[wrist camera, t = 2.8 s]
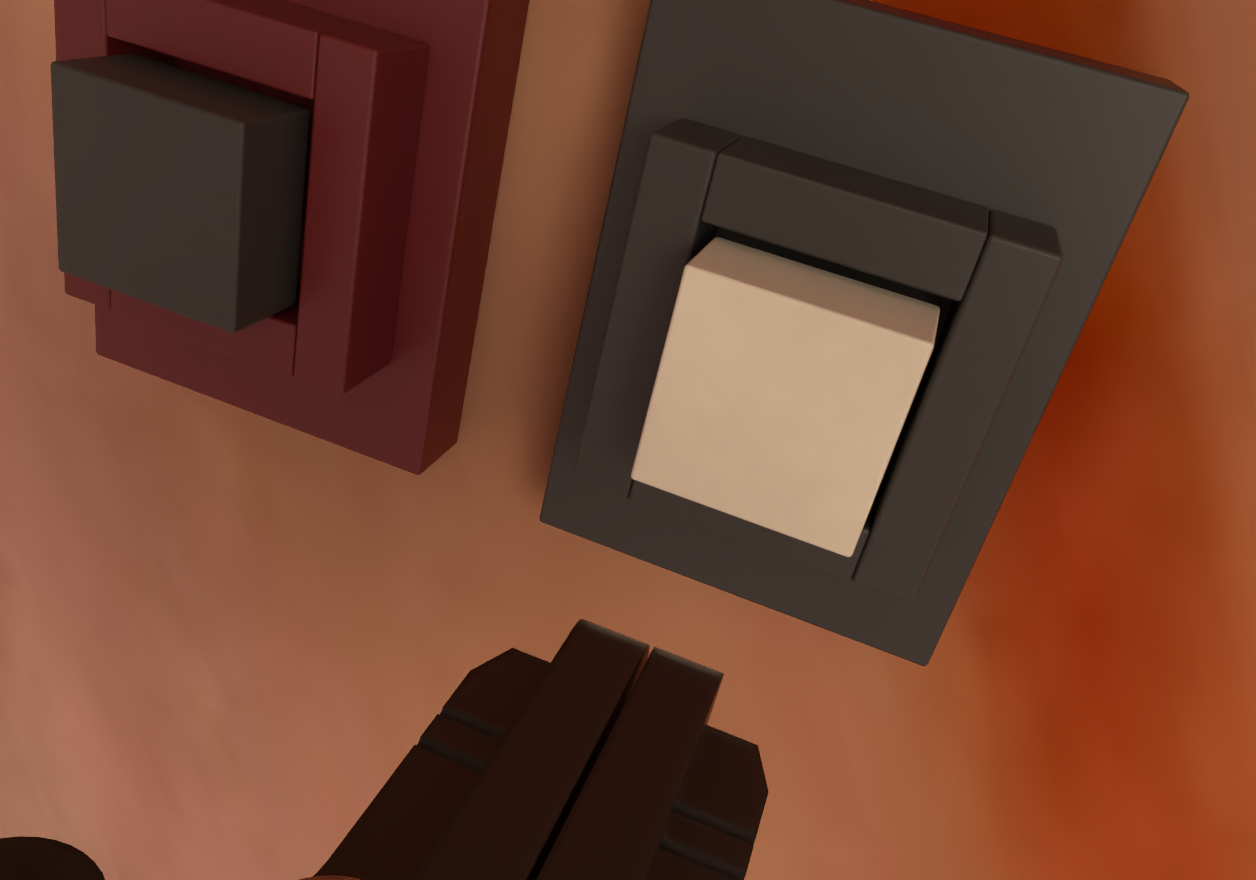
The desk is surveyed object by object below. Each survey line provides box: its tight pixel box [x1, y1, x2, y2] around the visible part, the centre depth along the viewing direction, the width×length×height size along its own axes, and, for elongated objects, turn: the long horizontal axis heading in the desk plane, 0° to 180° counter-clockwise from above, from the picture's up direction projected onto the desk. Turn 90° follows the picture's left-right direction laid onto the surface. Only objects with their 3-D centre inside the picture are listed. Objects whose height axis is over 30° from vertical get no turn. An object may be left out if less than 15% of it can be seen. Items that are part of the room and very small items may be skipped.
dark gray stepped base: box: [540, 0, 1189, 666], centre depth 20 cm, size 12×9×4 cm
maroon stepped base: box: [54, 0, 529, 475], centre depth 22 cm, size 12×9×4 cm
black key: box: [51, 53, 310, 333], centre depth 20 cm, size 4×4×2 cm
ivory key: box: [631, 237, 940, 557], centre depth 18 cm, size 4×4×2 cm
